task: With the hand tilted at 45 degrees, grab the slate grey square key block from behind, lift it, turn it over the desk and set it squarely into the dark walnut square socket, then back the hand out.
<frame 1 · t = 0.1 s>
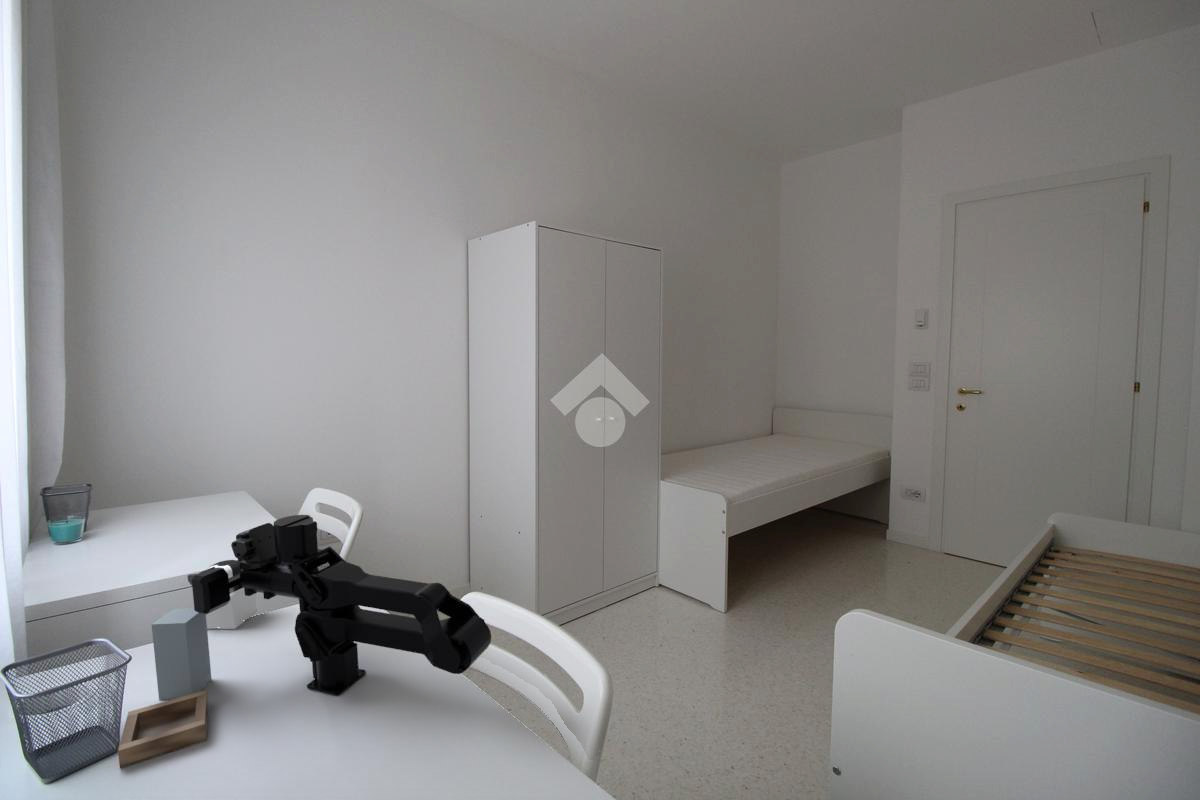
hand: (214, 567, 99), 17 cm above the table, tool horizontal, fingers open, 9 cm apart
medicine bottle: (229, 621, 114), on the table
walnut socket: (167, 734, 81), on the table
grey key block: (186, 689, 92), on the table
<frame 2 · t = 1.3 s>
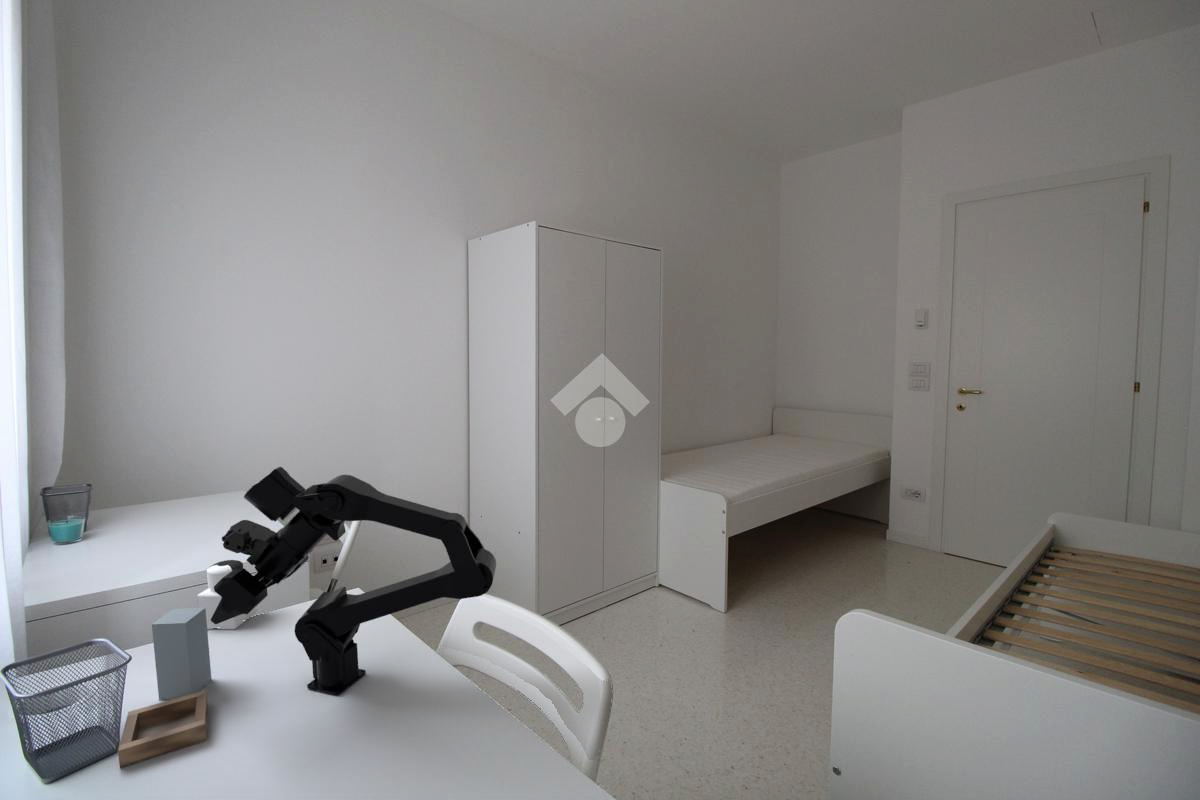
hand: (230, 607, 91), 13 cm above the table, tool tilted 45°, fingers open, 9 cm apart
nothing on the table moved.
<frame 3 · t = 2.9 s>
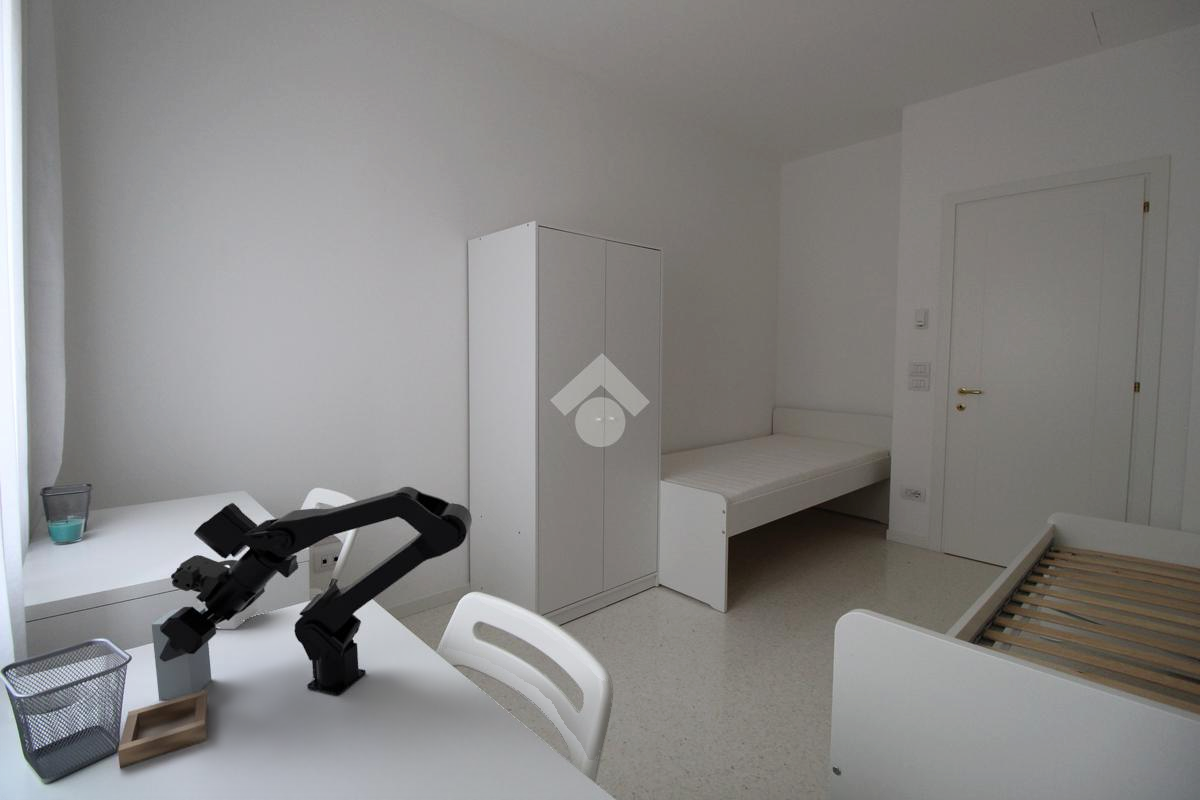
hand: (182, 643, 91), 8 cm above the table, tool tilted 45°, fingers open, 9 cm apart
nothing on the table moved.
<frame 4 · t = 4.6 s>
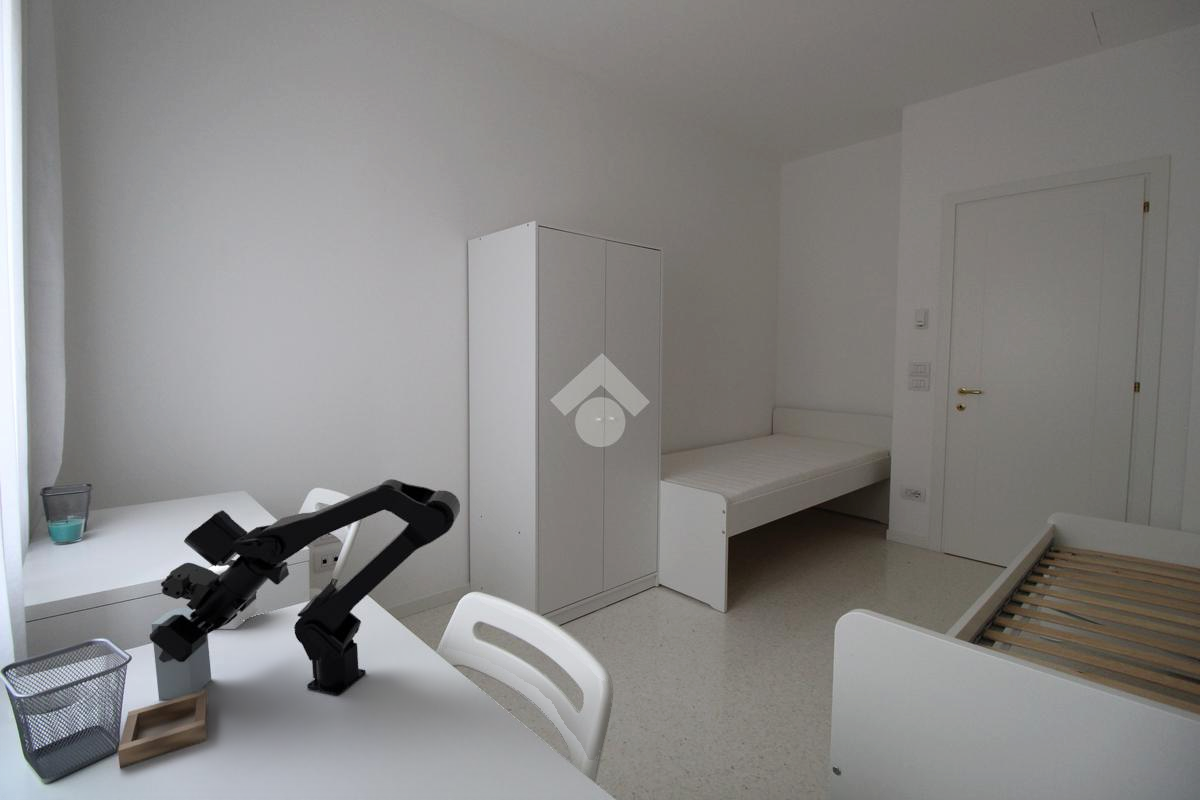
hand: (173, 650, 91), 7 cm above the table, tool tilted 45°, fingers closed on grey key block, 5 cm apart
grey key block: (185, 689, 92), on the table, touching gripper
everything else where it was.
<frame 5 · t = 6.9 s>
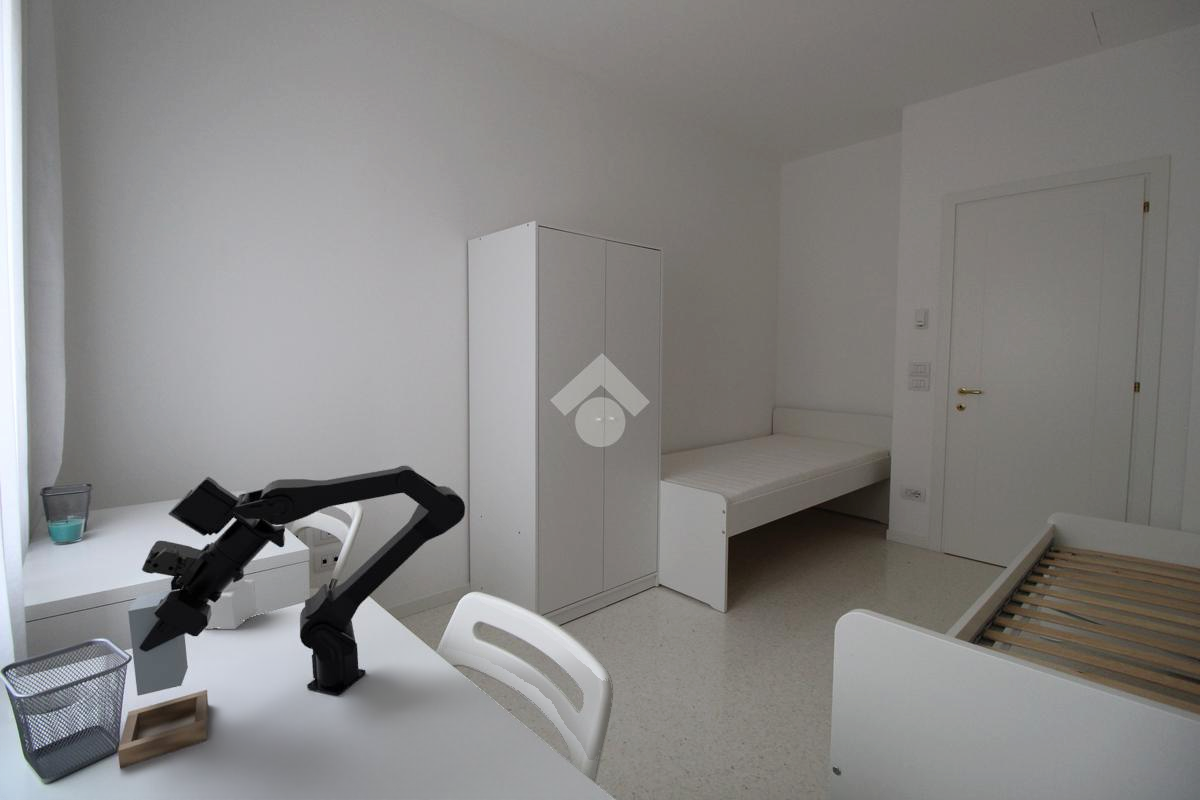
hand: (147, 640, 81), 13 cm above the table, tool tilted 45°, fingers closed on grey key block, 5 cm apart
grey key block: (163, 681, 83), point 7 cm above the table, touching gripper
everything else where it was.
when the fingers open (8 cm above the table, at t = 9.2 s): grey key block drops 1 cm, resting on walnut socket.
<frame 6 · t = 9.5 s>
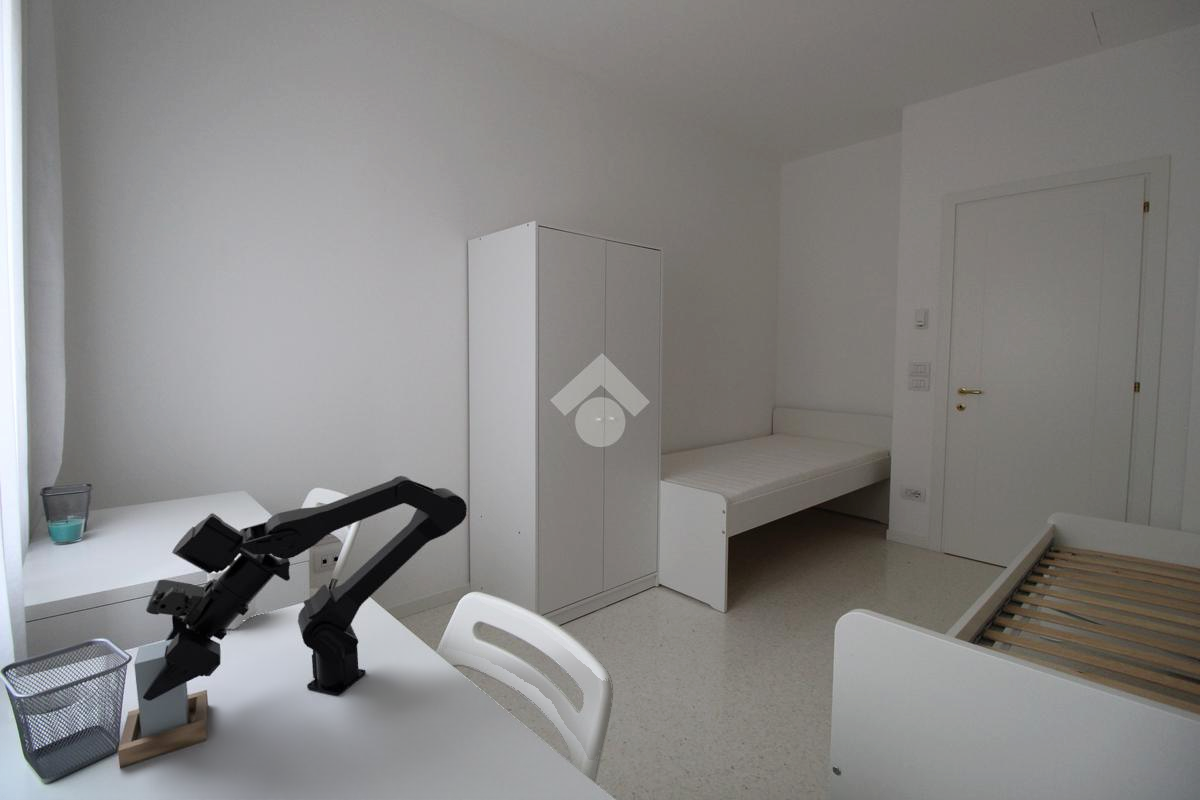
hand: (149, 682, 80), 8 cm above the table, tool tilted 45°, fingers open, 8 cm apart
grey key block: (167, 732, 81), resting on walnut socket
everything else where it was.
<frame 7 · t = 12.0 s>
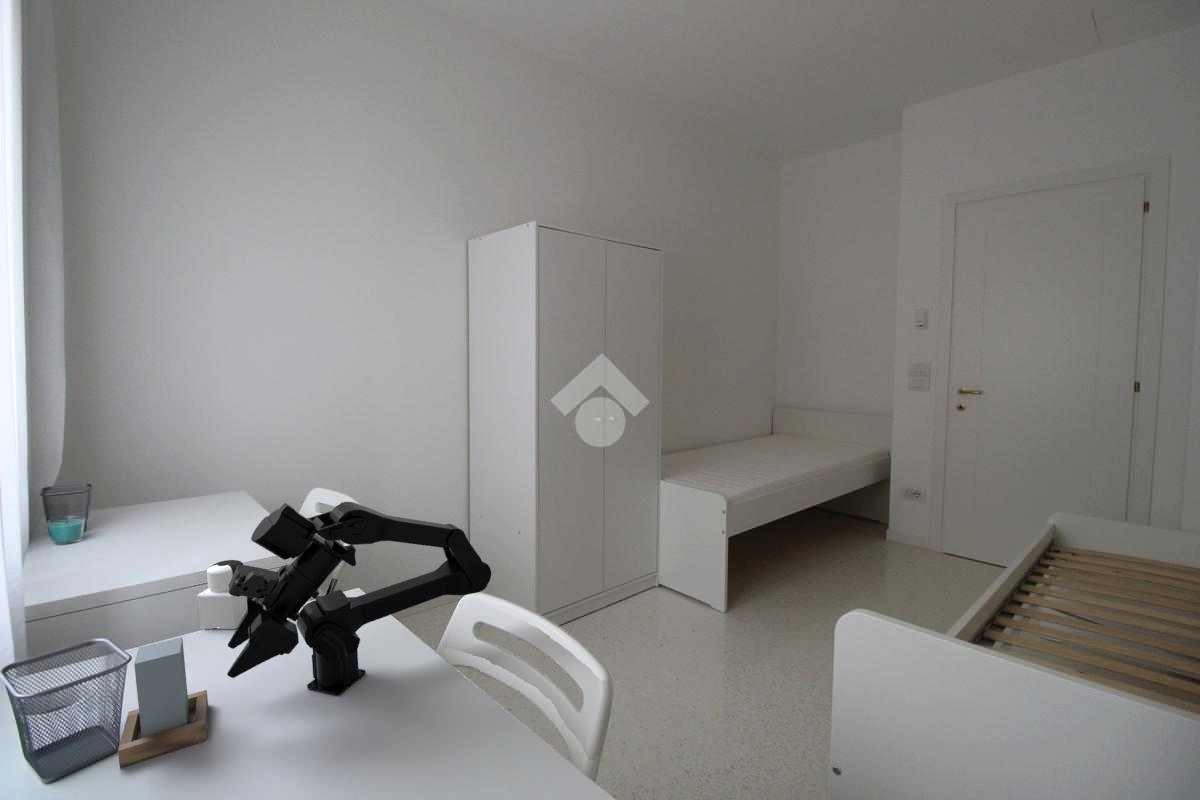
hand: (230, 661, 85), 8 cm above the table, tool tilted 45°, fingers open, 9 cm apart
nothing on the table moved.
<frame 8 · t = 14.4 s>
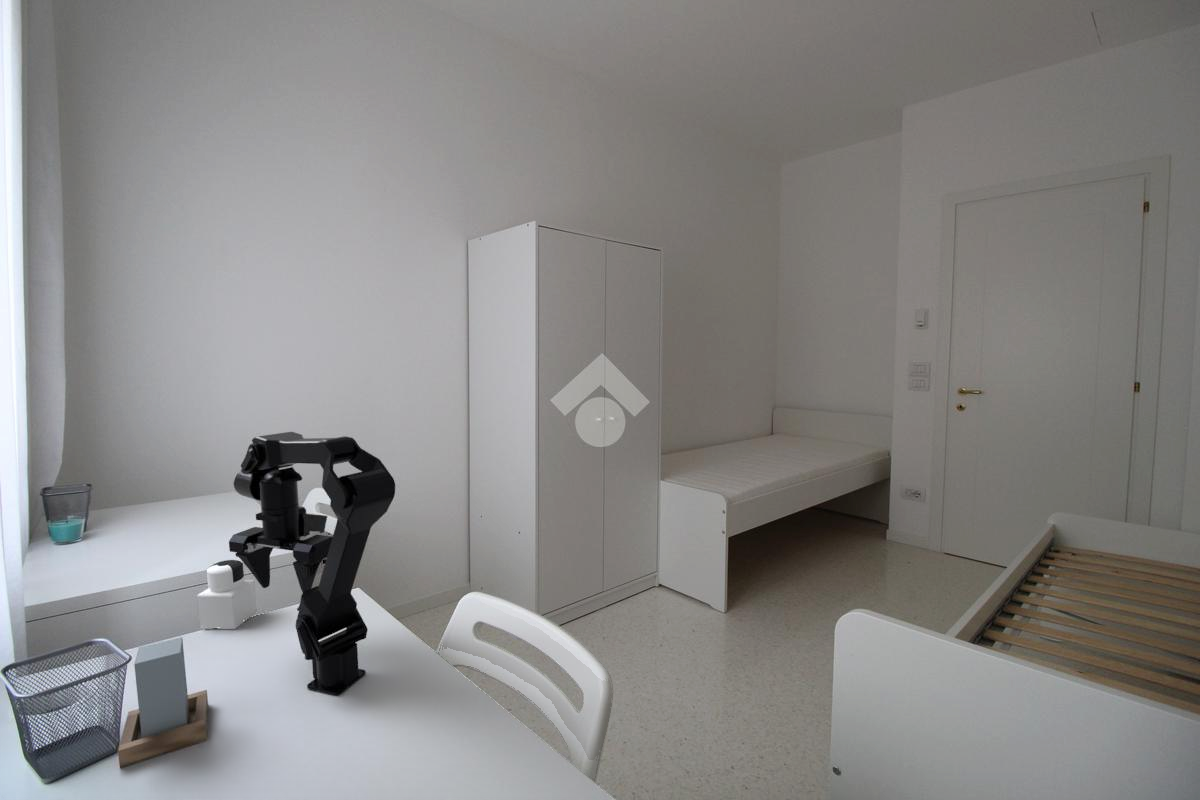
hand: (286, 590, 100), 12 cm above the table, tool pointing down, fingers open, 9 cm apart
nothing on the table moved.
at the end: grey key block 0.0 cm off-centre on the walnut socket, point 0.3 cm above the walnut socket's base; grey key block tilted 0°; the gripper is holding nothing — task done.
